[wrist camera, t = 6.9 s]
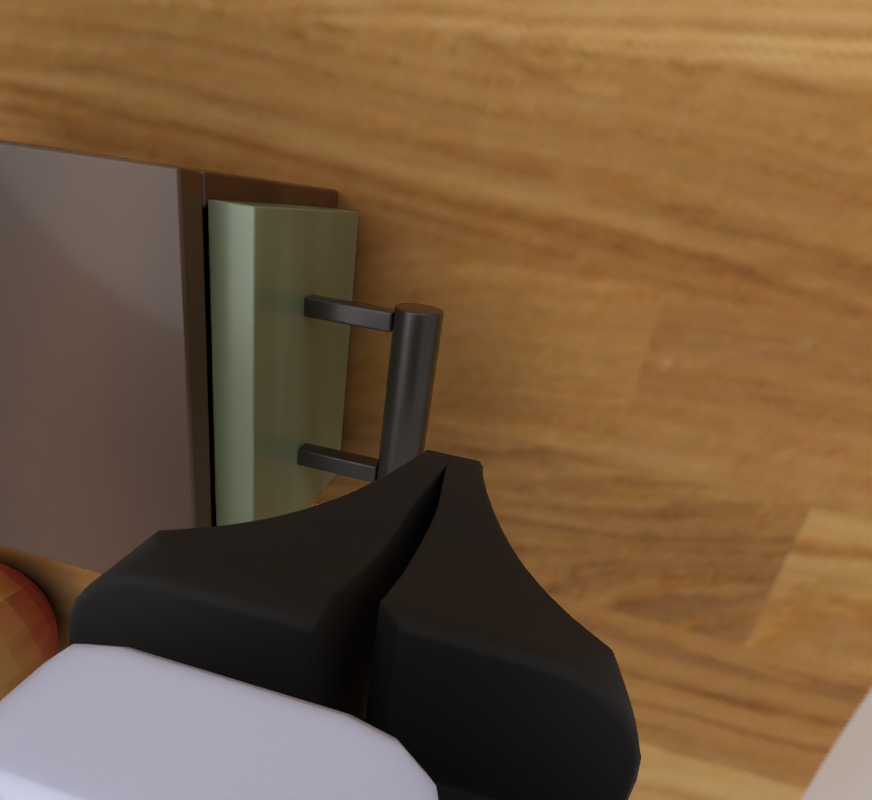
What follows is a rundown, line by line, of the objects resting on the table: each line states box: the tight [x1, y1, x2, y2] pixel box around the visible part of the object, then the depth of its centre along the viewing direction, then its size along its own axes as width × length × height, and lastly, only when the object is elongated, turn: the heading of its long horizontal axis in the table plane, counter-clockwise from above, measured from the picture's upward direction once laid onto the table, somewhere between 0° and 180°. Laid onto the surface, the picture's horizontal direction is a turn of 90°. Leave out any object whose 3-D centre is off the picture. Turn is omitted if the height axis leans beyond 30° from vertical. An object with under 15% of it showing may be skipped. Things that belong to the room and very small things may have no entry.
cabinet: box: [0, 140, 337, 574], centre depth 17 cm, size 14×12×9 cm
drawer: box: [202, 199, 444, 526], centre depth 17 cm, size 17×10×7 cm, turn 82°
